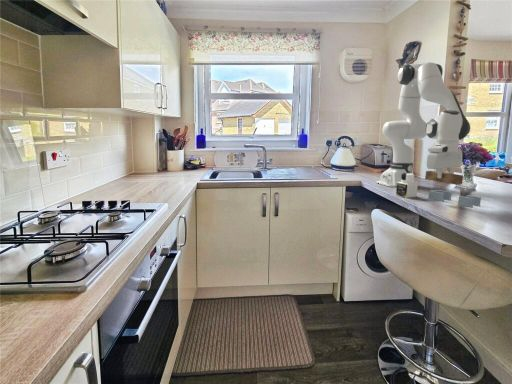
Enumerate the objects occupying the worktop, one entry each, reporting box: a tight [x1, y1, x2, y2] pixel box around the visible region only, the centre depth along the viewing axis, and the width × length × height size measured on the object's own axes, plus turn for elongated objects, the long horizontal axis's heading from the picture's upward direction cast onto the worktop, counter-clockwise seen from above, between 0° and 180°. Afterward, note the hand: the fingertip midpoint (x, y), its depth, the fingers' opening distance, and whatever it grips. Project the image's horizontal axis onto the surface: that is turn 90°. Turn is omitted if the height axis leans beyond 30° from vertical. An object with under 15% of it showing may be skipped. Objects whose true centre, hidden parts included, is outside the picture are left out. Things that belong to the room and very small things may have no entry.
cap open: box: [457, 194, 482, 208], centre depth 152 cm, size 6×6×4 cm
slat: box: [424, 170, 464, 186], centre depth 153 cm, size 16×3×4 cm, turn 27°
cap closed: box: [428, 189, 453, 202], centre depth 165 cm, size 8×6×4 cm
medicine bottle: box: [395, 172, 419, 199], centre depth 172 cm, size 7×7×12 cm
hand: (443, 177), depth 153 cm, fingers closed on slat, 3 cm apart
